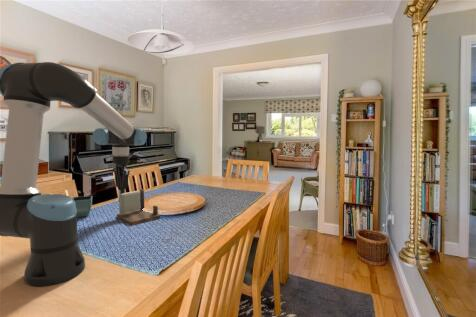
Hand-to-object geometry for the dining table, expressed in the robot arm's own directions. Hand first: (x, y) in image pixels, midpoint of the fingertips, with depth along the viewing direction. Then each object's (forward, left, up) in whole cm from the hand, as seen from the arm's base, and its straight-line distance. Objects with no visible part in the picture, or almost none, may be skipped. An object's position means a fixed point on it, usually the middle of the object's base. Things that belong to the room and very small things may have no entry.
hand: (121, 201), depth 133 cm
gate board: (+5, -8, -7) cm, 12 cm away
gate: (+3, -3, -5) cm, 7 cm away
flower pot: (-14, +14, -8) cm, 21 cm away
